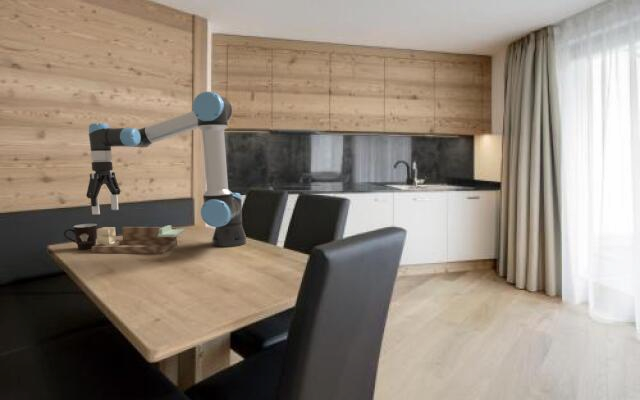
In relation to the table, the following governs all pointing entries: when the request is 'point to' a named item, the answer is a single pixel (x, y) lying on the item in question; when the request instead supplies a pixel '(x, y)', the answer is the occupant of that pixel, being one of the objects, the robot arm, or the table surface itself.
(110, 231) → the maple block
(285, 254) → the table surface
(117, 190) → the robot arm
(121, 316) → the table surface
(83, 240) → the coffee mug
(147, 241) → the puzzle board
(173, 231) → the lid
